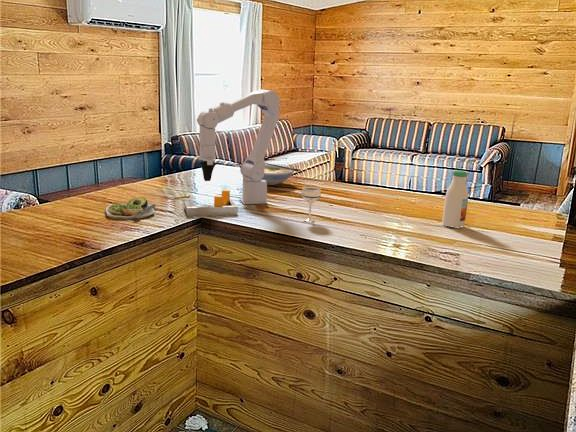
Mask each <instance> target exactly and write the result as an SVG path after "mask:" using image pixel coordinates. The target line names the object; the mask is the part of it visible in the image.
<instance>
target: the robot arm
mask: <svg viewBox="0 0 576 432" xmlns="http://www.w3.org/2000/svg"><path fill="white" fill-rule="evenodd" d="M280 102H281V99H280V97H279V95H278V93H277V92H276V91H274V90H272V89H271V90H268V89H262V88H259V89H257V90H254V91H252V92H250V93H248V94H246V95H244V96H242V97H240V98H239V99H237V100H234V101H233V102H232V103H230V102H225V101H221V102H220V103H219V105H217V106H215V107H213V108H212V107H209V108H208V111H205V110H204V111H201V112H200V113H199V115H198V116H197V118H196V122H197V124H198V125H199V155H196V156H195V157H196V159H198V160H201V161H199V162H198V163H199V165H200V167H201V170H202V176H203V180H204V182H211V180H212V176H213V170H214V168H215V167H216V162H215V160H216V127H217V126H218V124H220V123H222V122H224V121H226V120H228V119H231V118H232V117H233V116H234V115H235V112H237V111H239V110H241V109H245V108H247V107H249V106H252V105H256V106H257V107H258V108H260V109H261V110H260V111H262V114H263V119H262V122H261V125H260V127H259V130H258V133H257V136H256V138H255V141H254V144H253V147H252V149H251V152H250V154H249V155H248V156H246V158H245V160H244V162H243V163H242V164H241V165H240V168H239V169H240V170H239V171H240V174H241V175H242V198H239V201H241V202H242V204H243V205H257V204H258V205H260V204H268V202H267V199H268V198H267V197H268V186H267V182H266V180H261V179H262V178H263V176H264V168H265V163H266V161H265V157H266V154H267V152H268V148H269V146H270V143H271V139H272V138H273V135H274V131H275V129H276V127H277V124H278V121H279V118H280Z"/></svg>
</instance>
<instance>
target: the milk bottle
mask: <svg viewBox="0 0 576 432" xmlns="http://www.w3.org/2000/svg"><path fill="white" fill-rule="evenodd" d="M467 175H468V172H467V171H466V170H461V169H459V170H458V169H456V170H453V172H452V180H451V182H450V184H449V186H448V188H447V190H446V193H445V196H444V197H445V198H444V204H443V213H442V223H443V224H444V225H447V226H453V227H461V226H464V227H465V223H466V219H467V218H466V217H467V211H468V201H469V191H468V187H467V183H466V179H467ZM443 224H442V225H443ZM444 225H443V226H444Z"/></svg>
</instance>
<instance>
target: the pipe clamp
mask: <svg viewBox="0 0 576 432" xmlns="http://www.w3.org/2000/svg"><path fill="white" fill-rule="evenodd" d="M230 194H231V191H230V189H222V190H221V195H215V196H214V197H213V200H214V203H213V206H229V200H231V198H230V197H231V195H230Z"/></svg>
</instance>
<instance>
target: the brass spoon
mask: <svg viewBox="0 0 576 432" xmlns="http://www.w3.org/2000/svg"><path fill="white" fill-rule="evenodd" d="M173 197H174V199H175V200H176V199H186V198H187V199H188V198H191V195H190V194H183V195H177V196H173Z"/></svg>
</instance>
